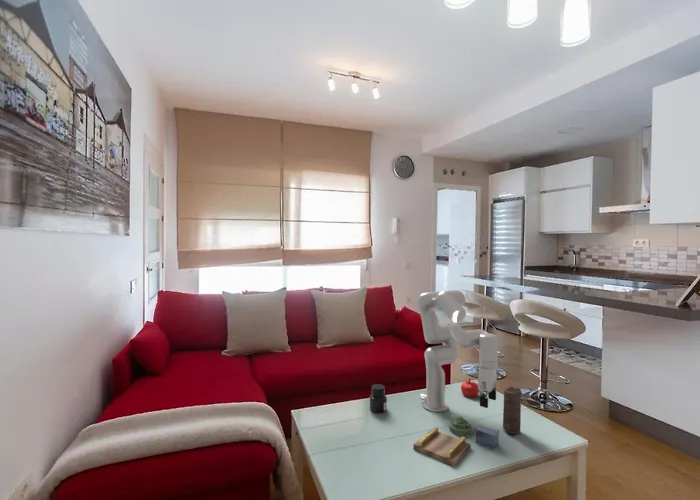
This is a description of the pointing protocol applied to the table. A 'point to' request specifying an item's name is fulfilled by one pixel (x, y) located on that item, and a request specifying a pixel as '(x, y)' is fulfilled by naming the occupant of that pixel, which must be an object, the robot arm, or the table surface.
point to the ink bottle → (378, 399)
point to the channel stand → (442, 446)
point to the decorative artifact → (460, 427)
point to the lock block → (487, 437)
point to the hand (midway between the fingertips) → (488, 403)
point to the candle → (512, 409)
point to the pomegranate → (469, 389)
